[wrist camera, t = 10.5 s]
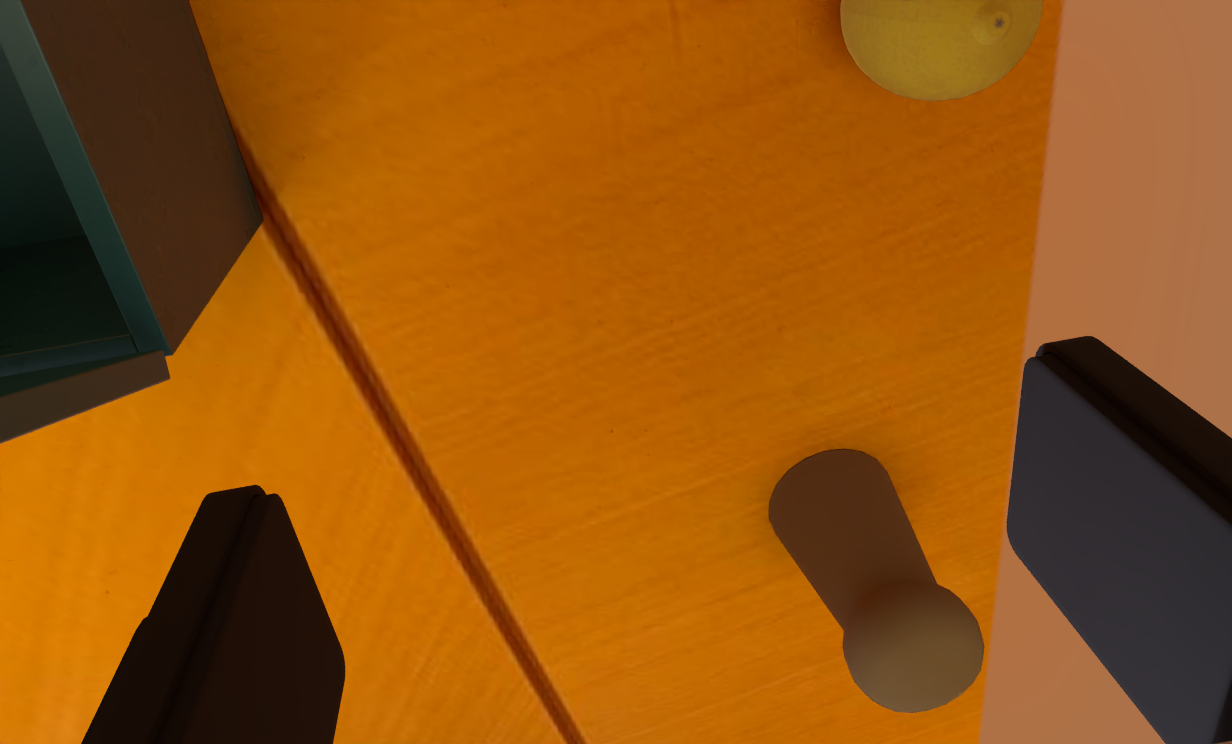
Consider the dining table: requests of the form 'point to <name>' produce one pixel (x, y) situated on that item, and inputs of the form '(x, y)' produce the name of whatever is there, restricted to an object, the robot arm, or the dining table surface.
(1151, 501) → the robot arm
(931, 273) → the dining table surface
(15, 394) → the box lid
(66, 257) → the teal box
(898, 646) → the cork
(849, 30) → the lemon
